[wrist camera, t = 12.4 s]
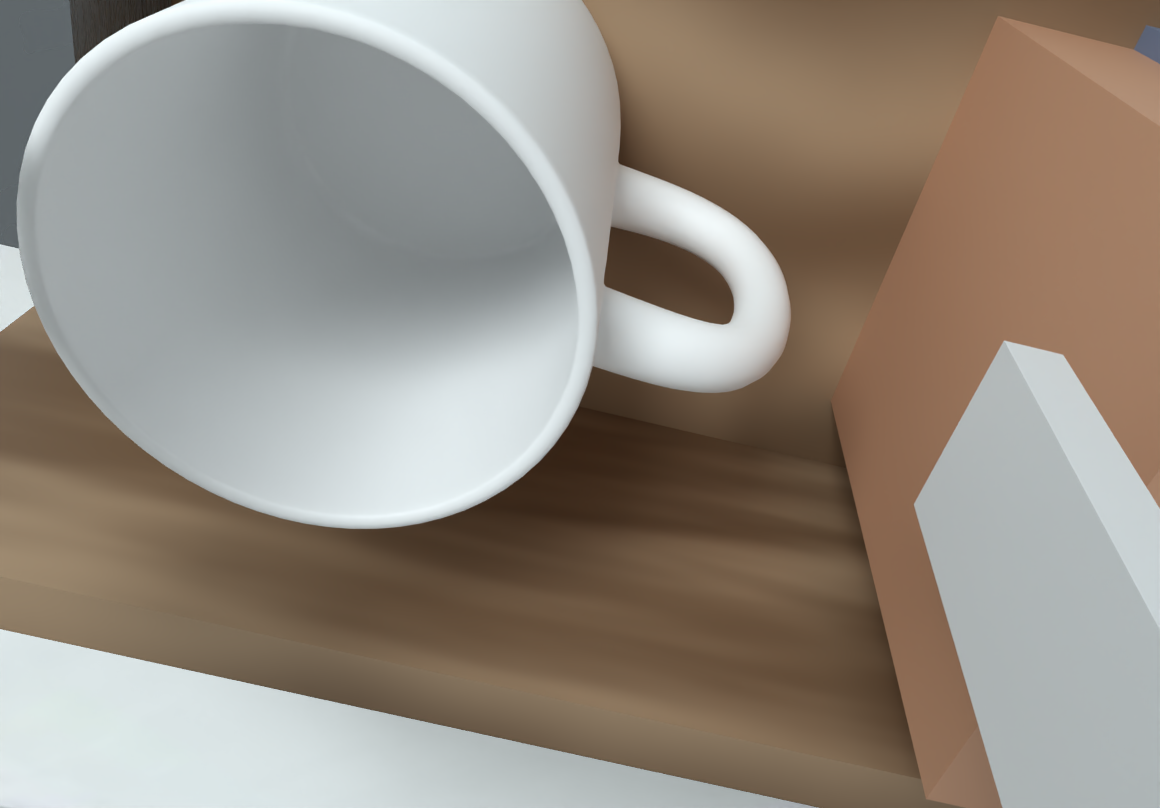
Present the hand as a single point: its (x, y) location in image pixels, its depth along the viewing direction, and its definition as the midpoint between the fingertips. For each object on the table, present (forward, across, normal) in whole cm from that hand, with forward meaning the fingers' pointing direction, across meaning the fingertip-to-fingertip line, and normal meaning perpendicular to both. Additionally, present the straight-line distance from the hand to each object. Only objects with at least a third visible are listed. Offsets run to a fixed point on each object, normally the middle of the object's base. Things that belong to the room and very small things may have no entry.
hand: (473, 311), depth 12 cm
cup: (+11, -1, -1) cm, 11 cm away
